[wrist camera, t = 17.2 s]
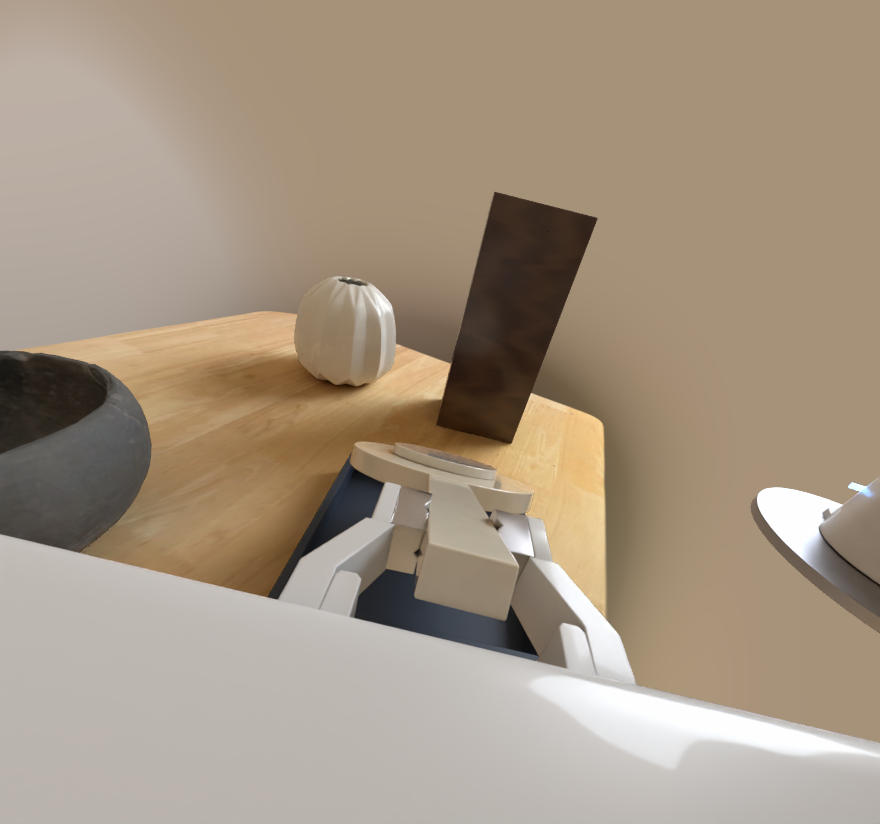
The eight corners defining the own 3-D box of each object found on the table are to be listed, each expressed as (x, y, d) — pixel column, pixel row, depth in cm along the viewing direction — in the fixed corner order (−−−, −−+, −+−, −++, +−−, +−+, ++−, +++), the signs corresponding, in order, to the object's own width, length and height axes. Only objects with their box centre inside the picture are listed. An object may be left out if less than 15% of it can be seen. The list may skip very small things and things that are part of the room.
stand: (507, 414, 52) (576, 220, 40) (511, 443, 45) (597, 217, 33) (442, 398, 52) (491, 198, 40) (436, 425, 45) (494, 191, 33)
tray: (512, 509, 34) (521, 489, 33) (534, 692, 21) (550, 669, 19) (350, 470, 34) (353, 448, 33) (265, 628, 20) (264, 601, 19)
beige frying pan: (506, 488, 29) (511, 467, 29) (736, 681, 7) (755, 596, 7) (367, 451, 29) (373, 431, 29) (174, 539, 7) (199, 452, 7)
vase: (326, 349, 59) (332, 265, 52) (403, 373, 57) (418, 289, 51) (270, 375, 47) (269, 270, 40) (365, 407, 45) (380, 302, 38)
